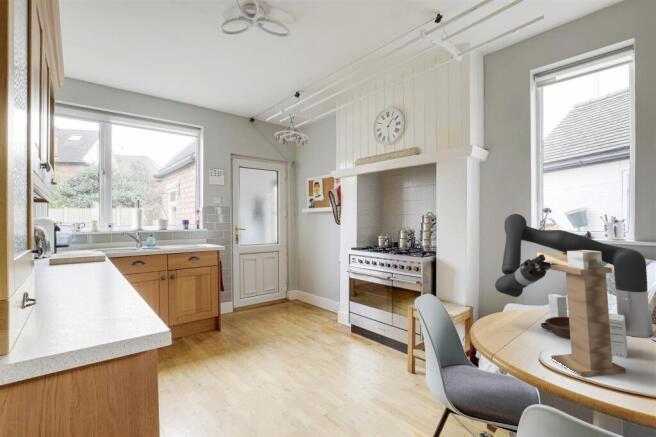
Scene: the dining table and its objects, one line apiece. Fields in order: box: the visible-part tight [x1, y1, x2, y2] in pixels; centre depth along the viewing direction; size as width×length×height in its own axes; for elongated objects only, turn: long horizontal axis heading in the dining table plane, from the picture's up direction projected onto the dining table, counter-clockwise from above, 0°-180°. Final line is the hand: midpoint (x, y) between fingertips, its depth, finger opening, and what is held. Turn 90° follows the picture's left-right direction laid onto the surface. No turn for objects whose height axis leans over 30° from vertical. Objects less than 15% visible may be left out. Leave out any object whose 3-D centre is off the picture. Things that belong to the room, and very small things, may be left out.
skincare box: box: [548, 293, 568, 318], centre depth 145 cm, size 6×4×12 cm
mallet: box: [536, 250, 603, 269], centre depth 109 cm, size 6×22×5 cm, turn 3°
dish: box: [540, 316, 570, 339], centre depth 130 cm, size 17×22×5 cm
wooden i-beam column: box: [550, 264, 626, 377], centre depth 103 cm, size 14×12×32 cm
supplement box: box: [609, 313, 628, 359], centre depth 112 cm, size 7×7×13 cm
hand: (555, 255), depth 113 cm, fingers open, 8 cm apart
